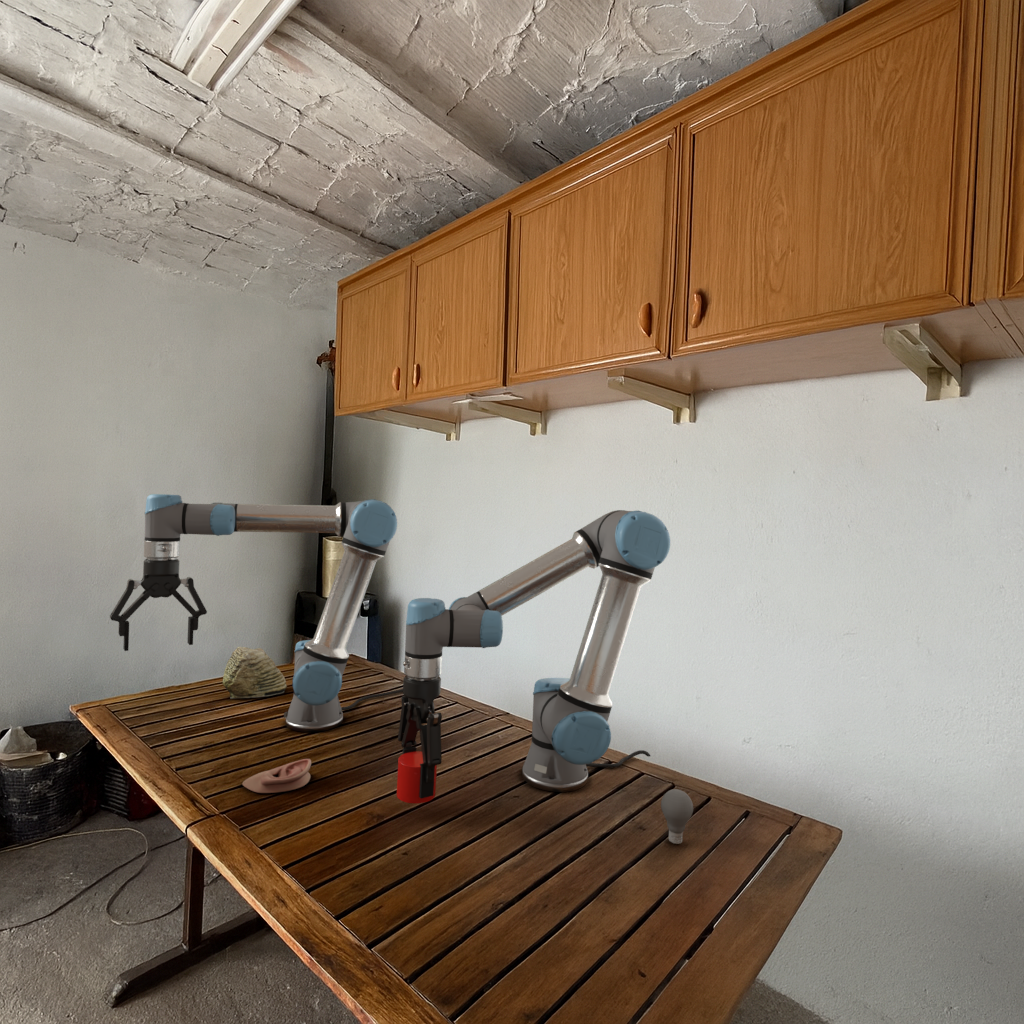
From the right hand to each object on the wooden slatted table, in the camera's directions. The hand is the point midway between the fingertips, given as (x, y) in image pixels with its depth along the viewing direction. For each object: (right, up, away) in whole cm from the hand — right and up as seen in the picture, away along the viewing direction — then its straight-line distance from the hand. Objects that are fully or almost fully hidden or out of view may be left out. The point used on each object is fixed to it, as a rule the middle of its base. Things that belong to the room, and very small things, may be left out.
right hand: (416, 787), depth 128 cm
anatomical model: (-32, -4, +11) cm, 34 cm away
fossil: (-61, -1, +70) cm, 93 cm away
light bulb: (+51, -8, -7) cm, 52 cm away
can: (0, -1, 0) cm, 1 cm away
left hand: (-66, +23, +24) cm, 74 cm away
